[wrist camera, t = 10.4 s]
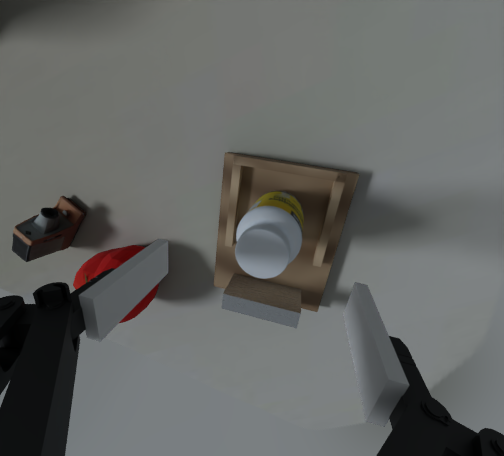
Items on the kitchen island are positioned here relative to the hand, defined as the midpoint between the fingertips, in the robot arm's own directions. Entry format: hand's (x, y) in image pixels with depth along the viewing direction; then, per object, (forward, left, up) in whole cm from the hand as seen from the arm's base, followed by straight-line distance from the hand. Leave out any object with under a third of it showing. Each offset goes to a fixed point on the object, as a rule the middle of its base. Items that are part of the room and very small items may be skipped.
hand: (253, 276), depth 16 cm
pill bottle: (0, 0, -15) cm, 15 cm away
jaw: (+12, 0, -15) cm, 19 cm away
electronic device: (+9, -35, -17) cm, 40 cm away
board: (+4, 0, -17) cm, 17 cm away
